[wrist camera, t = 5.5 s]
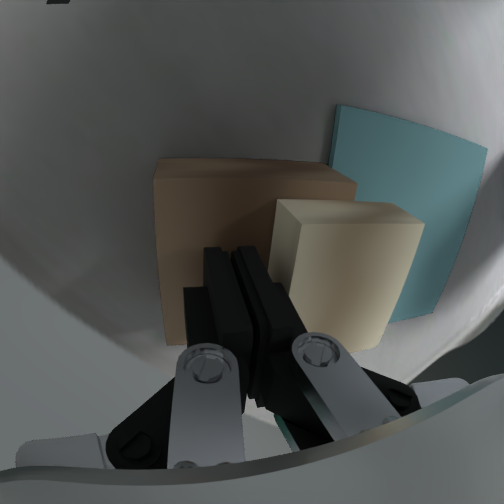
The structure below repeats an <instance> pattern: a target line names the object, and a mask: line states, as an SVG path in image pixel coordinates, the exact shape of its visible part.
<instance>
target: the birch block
mask: <svg viewBox="0 0 504 504" xmlns="http://www.w3.org/2000/svg"><path fill="white" fill-rule="evenodd" d="M424 226H425V223H423V222H422V221H420V220H419V219H417V218H415V217H414V216H412V215H411V214H409V213H408V212H406V211H405V210H403V209H401V208H400V207H398V206H397V205H395V204H393V203H387V202H367V201H343V200H306V199H277V205H276V213H275V221H274V228H273V236H272V243H271V251H270V258H269V265H268V273H269V275H270V277H271V279H272V281H273V283H275V282H280V283H281V284H282V285H283V286H284V288H285V290H286V292H287V294H288V296H289V298H290V299H291V301H292V303H293V305H294V307H295V309H296V311H297V313H298V314H299V316H300V318H301V320H302V322H303V324H304V326H305V328H306V329H307V331H308V333H309V332H320V333H324V334H328V335H330V336H332V337H334V338H335V339H337V340H338V341H339V342H340V343H341V344H342V345H343V346H344V348H345V349H346V350H347V351H348V352H349V354H350V353H354V352H358V351H362V350H366V349H369V348H373V347H377V345H378V343H379V341H380V339H381V337H382V335H383V333H384V330H385V328H386V326H387V324H388V322H389V319H390V317H391V315H392V312H393V310H394V308H395V305H396V303H397V301H398V298H399V296H400V293H401V291H402V288H403V286H404V283H405V281H406V278H407V275H408V273H409V270H410V267H411V264H412V262H413V259H414V256H415V253H416V250H417V247H418V244H419V241H420V238H421V235H422V232H423V229H424Z"/></svg>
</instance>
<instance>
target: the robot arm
mask: <svg viewBox="0 0 504 504" xmlns="http://www.w3.org/2000/svg"><path fill="white" fill-rule="evenodd" d="M183 299H184V317H185V329H186V339H187V349H186V350H184V351H183V352H182V353H181V355H180V356H179V358H178V361H177V365H176V373H175V377H174V378H173V379H172V380H171V381H169V382H168V383H167V384H166V385H165V386H164V387H163V388H161V389H160V390H159V391H158V392H157V393H156V394H154V395H153V396H152V397H151V398H150V399H149V400H147V401H146V402H145V403H144V404H143V405H142V406H140V407H139V408H138V409H137V410H136V411H134V412H133V413H132V414H131V415H130V416H129V417H127V418H126V419H125V420H124V421H123V422H121V423H120V424H119V425H118V426H117V427H115V428H114V429H113V430H112V432H111V433H110V434H107V435H101V436H97V434H96V433H92V434H86V435H78V436H71V437H62V438H52V439H41V440H32V441H28V442H25V443H24V444H23V445H22V446H20V448H19V449H18V451H17V453H16V461H15V463H16V468H11V469H7V470H2V471H0V504H504V374H499V375H494V376H490V377H487V378H484V379H482V380H479V381H477V382H475V383H473V384H471V385H469V384H468V383H467V382H466V381H464V380H463V379H460V378H450V379H444V380H437V381H430V382H422V383H414V384H412V385H411V386H410V387H409V386H407V385H405V384H404V383H401V382H399V381H396V380H393V379H391V378H388V377H386V376H383V375H380V374H378V373H375V372H373V371H370V370H368V369H365V368H363V367H360V366H359V365H358V363H357V362H356V361H355V360H354V359H353V357H352V356H351V355H350V354H349V352H348V351H347V350H346V349H345V348H344V346H343V345H342V344H341V343H340V342H339V341H338V340H337V339H335V338H334V337H332V336H330V335H328V334H324V333H320V332H309V333H308V331H307V329H306V328H305V326H304V324H303V322H302V320H301V318H300V316H299V314H298V313H297V311H296V309H295V307H294V305H293V303H292V301H291V299H290V298H289V296H288V294H287V292H286V290H285V288H284V286H283V285H282V284H281V283H280V282H275V283H273V281H272V279H271V277H270V275H269V273H268V271H267V269H266V267H265V265H264V263H263V261H262V259H261V257H260V255H259V253H258V251H257V249H256V247H255V246H238V247H237V251H231V259H230V258H229V255H228V252H227V251H222V249H221V247H204V250H203V287H183ZM247 395H248V397H249V399H255V402H256V405H257V408H259V407H265V408H266V409H267V410H269V411H271V412H273V413H274V418H275V421H276V423H277V425H278V427H279V429H280V430H281V432H282V433H283V436H284V438H285V439H286V441H287V443H288V445H289V447H290V448H291V450H292V453H288V454H283V455H278V456H273V457H269V458H263V459H258V460H252V461H245V448H244V437H243V424H242V414H243V413H244V409H245V403H246V396H247Z"/></svg>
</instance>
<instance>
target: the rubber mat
mask: <svg viewBox="0 0 504 504" xmlns="http://www.w3.org/2000/svg"><path fill="white" fill-rule="evenodd" d="M487 150H488V149H487V148H485V147H482V146H480V145H478V144H475V143H472V142H470V141H467V140H465V139H462V138H459V137H457V136H454V135H451V134H448V133H445V132H442V131H439V130H436V129H433V128H430V127H427V126H424V125H420V124H417V123H414V122H410V121H407V120H403V119H400V118H396V117H392V116H388V115H384V114H380V113H376V112H372V111H368V110H363V109H359V108H354V107H349V106H344V105H338V104H337V108H336V115H335V123H334V130H333V138H332V145H331V151H330V158H329V165H328V166H329V167H331V168H332V169H334V170H336V171H338V172H339V173H341V174H343V175H345V176H346V177H348V178H350V179H351V180H353V181H355V182H356V183H358V185H357V190H356V195H355V200H354V201H367V202H387V203H393V204H395V205H397V206H398V207H400V208H401V209H403V210H405V211H406V212H408V213H409V214H411V215H412V216H414V217H415V218H417V219H419V220H420V221H422V222H423V223H425V226H424V229H423V232H422V235H421V238H420V241H419V244H418V247H417V250H416V253H415V256H414V259H413V262H412V264H411V267H410V270H409V273H408V275H407V278H406V281H405V283H404V286H403V288H402V291H401V293H400V296H399V298H398V301H397V303H396V305H395V308H394V310H393V312H392V315H391V317H390V319H389V322H388V323H391V322H396V321H400V320H405V319H409V318H413V317H417V316H422V315H426V314H430V313H432V312H433V310H434V308H435V306H436V304H437V302H438V299H439V297H440V295H441V293H442V291H443V288H444V286H445V284H446V281H447V279H448V277H449V274H450V272H451V269H452V267H453V264H454V262H455V259H456V257H457V254H458V251H459V249H460V246H461V243H462V240H463V238H464V235H465V232H466V229H467V226H468V223H469V220H470V216H471V213H472V210H473V207H474V203H475V200H476V196H477V192H478V189H479V185H480V181H481V177H482V173H483V169H484V164H485V160H486V155H487Z"/></svg>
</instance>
